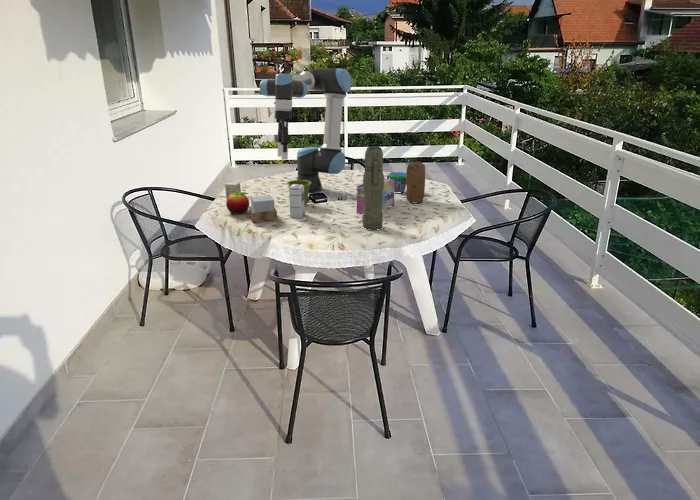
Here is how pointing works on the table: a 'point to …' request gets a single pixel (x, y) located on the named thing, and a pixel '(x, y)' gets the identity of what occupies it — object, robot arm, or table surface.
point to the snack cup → (398, 181)
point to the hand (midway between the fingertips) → (282, 158)
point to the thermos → (373, 188)
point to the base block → (263, 216)
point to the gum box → (386, 195)
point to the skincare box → (232, 188)
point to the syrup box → (297, 200)
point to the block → (415, 182)
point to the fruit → (237, 203)
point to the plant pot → (306, 186)
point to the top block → (262, 203)
